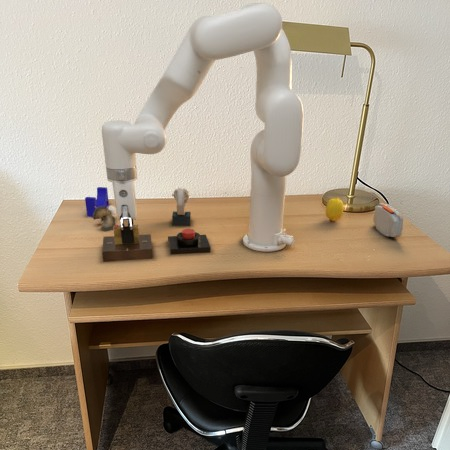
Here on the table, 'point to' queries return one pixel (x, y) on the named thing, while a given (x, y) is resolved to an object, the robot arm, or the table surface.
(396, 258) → the table surface
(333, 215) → the lemon
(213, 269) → the table surface
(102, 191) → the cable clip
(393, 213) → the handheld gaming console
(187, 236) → the button
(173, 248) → the button block
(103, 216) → the eagle figurine
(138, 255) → the panel
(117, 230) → the tan bar
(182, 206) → the watch
